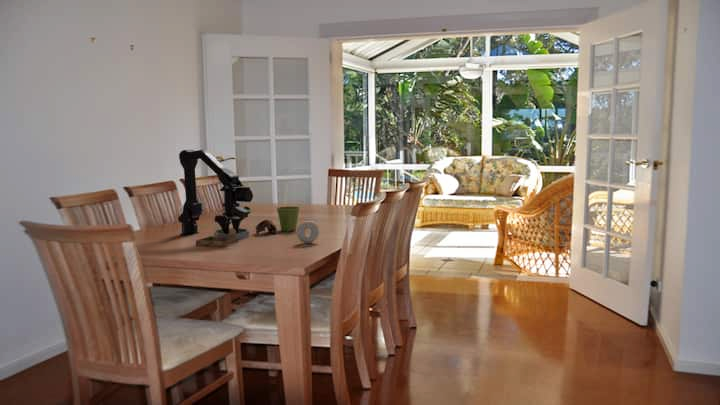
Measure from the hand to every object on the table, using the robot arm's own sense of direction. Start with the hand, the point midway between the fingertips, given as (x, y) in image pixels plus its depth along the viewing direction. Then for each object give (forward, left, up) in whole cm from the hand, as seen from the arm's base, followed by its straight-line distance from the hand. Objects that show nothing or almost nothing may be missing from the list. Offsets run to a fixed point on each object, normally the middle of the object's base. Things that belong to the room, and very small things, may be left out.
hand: (231, 235), depth 273 cm
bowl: (0, 0, -1) cm, 1 cm away
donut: (+38, 0, -2) cm, 38 cm away
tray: (+2, -15, -1) cm, 15 cm away
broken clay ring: (+11, +14, -2) cm, 18 cm away
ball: (0, 0, -1) cm, 1 cm away
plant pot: (+15, +28, -2) cm, 32 cm away
